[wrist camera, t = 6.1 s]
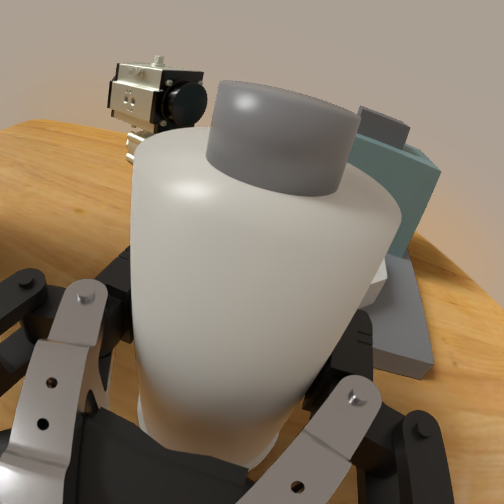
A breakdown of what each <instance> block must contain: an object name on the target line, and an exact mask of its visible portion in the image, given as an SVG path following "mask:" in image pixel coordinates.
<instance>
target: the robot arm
mask: <svg viewBox="0 0 504 504" xmlns="http://www.w3.org/2000/svg"><path fill="white" fill-rule="evenodd" d="M18 321H19V322H20V325H21V328H20V329H18V330H17V331H16V332H14V333H13V334H12V335H10V336H9V337H8V338H7V339H5V340H4V341H3V342H2V343H0V397H1V396H2V395H3V394H4V393H5V392H7V391H8V390H9V389H10V388H11V387H12V386H13V385H14V384H16V383H17V382H18V381H19V380H20V379H21V378H23V377H24V376H25V375H26V376H25V379H24V383H23V386H22V390H21V393H20V397H19V401H18V405H17V409H16V413H15V418H14V422H13V427H12V428H10V429H7V430H3V431H0V504H326V503H327V502H328V501H329V499H330V498H331V496H332V495H333V494H334V492H335V491H336V489H337V488H338V486H339V485H340V483H341V482H342V480H343V479H344V477H345V476H346V474H347V473H348V471H349V469H350V467H351V465H352V464H353V465H355V466H356V469H357V486H358V504H454V497H453V491H452V485H451V479H450V473H449V468H448V463H447V458H446V453H445V448H444V443H443V439H442V434H441V430H440V427H439V424H438V422H437V421H436V420H435V418H434V417H433V416H432V415H430V414H429V413H427V412H425V411H421V410H415V411H412V412H410V413H408V414H407V415H406V416H404V415H403V414H401V413H399V412H397V411H395V410H394V409H392V408H390V407H389V406H387V405H386V404H384V403H383V402H382V397H381V393H380V391H379V389H378V388H377V386H376V385H375V384H374V383H373V347H372V345H373V337H372V336H373V326H372V322H371V320H370V318H369V315H368V313H367V312H366V311H363V310H360V309H358V308H357V310H356V312H355V314H354V316H353V317H352V319H351V321H350V323H349V324H348V326H347V328H346V329H345V331H344V333H343V335H342V336H341V338H340V340H339V341H338V343H337V345H336V346H335V348H334V350H333V351H332V353H331V355H330V356H329V358H328V359H327V361H326V363H325V364H324V366H323V367H322V369H321V370H320V372H319V374H318V375H317V377H316V378H315V380H314V381H313V383H312V384H311V386H310V387H309V389H308V390H307V392H306V393H305V397H304V402H303V407H302V409H303V410H307V411H311V415H310V420H309V422H308V423H307V424H306V425H305V427H304V428H303V429H302V430H301V431H300V433H299V434H298V435H297V436H296V437H295V439H294V440H293V441H292V442H291V443H290V445H289V446H288V447H287V448H286V449H285V450H284V451H283V453H282V454H281V455H280V456H279V457H278V458H277V459H276V460H275V462H274V463H273V464H272V465H271V466H270V467H269V468H268V469H267V470H266V471H265V472H264V473H263V475H262V476H261V477H260V478H259V479H258V480H257V481H256V482H254V481H253V480H251V479H249V478H248V477H246V476H247V473H248V470H249V468H246V467H242V466H239V465H236V464H233V463H230V462H227V461H224V460H221V459H218V458H215V457H212V456H208V455H200V454H193V453H187V452H180V451H175V450H170V449H167V448H165V447H163V446H162V445H161V444H159V443H158V442H157V441H155V440H154V439H153V438H151V437H150V436H149V435H148V434H146V433H145V432H144V431H143V430H141V429H140V428H139V427H138V426H136V425H135V424H134V423H132V422H130V421H128V420H126V419H124V418H122V417H120V416H118V415H116V414H114V413H112V412H111V411H110V408H109V394H110V386H111V378H112V371H113V364H114V357H115V346H116V345H117V343H118V342H119V341H120V340H122V341H124V342H126V343H129V344H131V343H132V341H133V340H134V333H133V317H132V298H131V260H130V246H128V247H127V248H126V249H125V251H123V252H122V253H121V254H120V255H119V257H117V258H116V259H115V260H113V261H112V262H111V263H110V264H109V265H108V266H107V267H106V268H105V269H104V270H103V271H102V272H101V273H100V274H99V275H98V276H97V277H96V278H95V279H81V280H78V281H75V282H73V283H72V284H70V285H69V286H68V287H67V288H63V287H58V286H52V285H47V283H46V279H45V276H44V274H43V273H42V272H41V271H40V270H37V269H32V268H28V269H23V270H20V271H18V272H16V273H15V274H13V275H11V276H10V277H8V278H7V279H5V280H4V281H2V282H1V283H0V335H1V334H3V333H4V332H5V331H7V330H8V329H9V328H11V327H12V326H13V325H14V324H16V323H17V322H18Z"/></svg>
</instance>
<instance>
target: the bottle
mask: <svg viewBox="0 0 504 504" xmlns="http://www.w3.org/2000/svg"><path fill="white" fill-rule="evenodd" d="M360 121H361V117H360V116H358V115H357V114H355V113H353V112H351V111H349V110H347V109H344V108H342V107H339V106H337V105H334V104H332V103H329V102H326V101H323V100H320V99H317V98H314V97H311V96H308V95H304V94H301V93H296V92H293V91H289V90H285V89H281V88H277V87H272V86H267V85H261V84H255V83H249V82H241V81H228V80H227V81H220V82H219V86H218V91H217V96H216V101H215V106H214V111H213V116H212V122H211V127H191V128H181V129H174V130H169V131H165V132H161V133H158V134H155V135H153V136H151V137H149V138H147V139H145V140H144V141H143V142H141V143H140V144H139V145H138V147H137V148H136V150H135V152H134V161H133V176H132V196H131V233H130V260H131V298H132V317H133V333H134V346H135V357H136V367H137V377H138V385H139V393H140V394H139V398H138V404H137V415H138V421H139V426H140V429H141V430H143V431H144V432H145V433H146V434H148V435H149V436H150V437H151V438H153V439H154V440H155V441H157V442H158V443H159V444H161V445H162V446H163V447H165V448H167V449H170V450H175V451H180V452H187V453H193V454H200V455H208V456H212V457H215V458H218V459H221V460H224V461H227V462H230V463H233V464H236V465H239V466H242V467H246V468H249V470H248V472H249V471H251V470H252V469H254V468H255V467H256V466H257V465H259V464H260V463H261V462H262V461H263V460H264V458H265V457H266V456H267V455H268V453H269V452H270V451H271V449H272V448H273V446H274V445H275V443H276V441H277V438H278V435H279V432H280V429H281V428H282V426H283V425H284V424H285V422H286V421H287V420H288V418H289V417H290V415H291V414H292V412H293V411H294V410H295V408H296V407H297V405H298V404H299V402H300V401H301V399H302V398H303V396H304V395H305V393H306V392H307V390H308V389H309V387H310V386H311V384H312V383H313V381H314V380H315V378H316V377H317V375H318V374H319V372H320V370H321V369H322V367H323V366H324V364H325V363H326V361H327V359H328V358H329V356H330V355H331V353H332V351H333V350H334V348H335V346H336V345H337V343H338V341H339V340H340V338H341V336H342V335H343V333H344V331H345V329H346V328H347V326H348V324H349V323H350V321H351V319H352V317H353V316H354V314H355V312H356V310H357V308H358V307H359V305H360V303H361V301H362V299H363V298H364V296H365V294H366V292H367V290H368V288H369V286H370V284H371V283H372V281H373V279H374V277H375V275H376V273H377V271H378V269H379V267H380V265H381V263H382V261H383V259H384V257H385V255H386V253H387V251H388V249H389V247H390V245H391V243H392V241H393V239H394V237H395V234H396V232H397V230H398V228H399V226H400V224H401V218H402V215H401V211H400V208H399V206H398V204H397V202H396V201H395V199H394V198H393V197H392V195H391V194H390V193H389V192H388V191H387V190H386V189H385V188H384V187H383V186H382V185H380V184H379V183H378V182H377V181H376V180H374V179H373V178H372V177H370V176H369V175H367V174H366V173H364V172H363V171H361V170H360V169H358V168H356V167H355V166H353V165H351V164H349V163H347V161H348V158H349V155H350V152H351V149H352V146H353V143H354V140H355V137H356V134H357V130H358V127H359V124H360Z"/></svg>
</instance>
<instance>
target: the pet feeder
mask: <svg viewBox="0 0 504 504" xmlns="http://www.w3.org/2000/svg"><path fill="white" fill-rule="evenodd" d="M357 115H358V116H360V117H361V121H360V124H359V127H358V130H357V134H356V137H355V140H354V143H353V146H352V149H351V152H350V155H349V158H348V161H347V163H349V164H351V165H353V166H355V167H356V168H358V169H360V170H361V171H363V172H364V173H366V174H367V175H369V176H370V177H372V178H373V179H374V180H376V181H377V182H378V183H379V184H380V185H382V186H383V187H384V188H385V189H386V190H387V191H388V192H389V193H390V194H391V195H392V197H393V198H394V199H395V201H396V202H397V204H398V206H399V208H400V211H401V215H402V218H401V224H400V226H399V228H398V230H397V232H396V234H395V237H394V239H393V241H392V243H391V245H390V247H389V249H388V251H387V253H386V255H385V257H384V259H383V261H382V263H381V265H380V267H379V269H378V271H377V273H376V275H375V277H374V279H373V281H372V283H371V284H370V286H369V288H368V290H367V292H366V294H365V296H364V298H363V299H362V301H361V303H360V305H359V307H358V309H360V310H363V311H366V312H367V313H368V315H369V318H370V320H371V322H372V326H373V336H372V337H373V345H372V347H373V368H377V369H381V370H384V371H388V372H392V373H396V374H400V375H404V376H408V377H412V378H416V379H420V380H421V379H422V378H423V377H424V375H425V374H426V373H427V372H428V371H429V370H430V369H431V368H432V366H433V365H434V360H433V354H432V349H431V343H430V338H429V333H428V328H427V323H426V319H425V314H424V310H423V305H422V301H421V297H420V293H419V289H418V285H417V281H416V277H415V273H414V270H413V266H412V263H411V259H410V256H409V252H408V249H407V246H408V244H409V242H410V240H411V238H412V236H413V234H414V232H415V230H416V228H417V226H418V224H419V221H420V219H421V217H422V215H423V213H424V211H425V208H426V206H427V204H428V202H429V200H430V197H431V195H432V193H433V190H434V188H435V186H436V183H437V181H438V178H439V176H440V173H441V171H440V170H439V169H438V167H437V166H435V164H434V163H433V162H432V161H431V160H430V159H429V158H428V157H427V156H426V155H425V154H424V153H423V152H422V151H421V150H419V149H417V148H415V147H412V146H410V145H408V144H405V142H406V139H407V136H408V133H409V130H410V127H409V126H407V125H406V124H404V123H403V122H402V121H399V120H397V119H394V118H392V117H389V116H386V115H384V114H382V113H379V112H376V111H373V110H371V109H368V108H365V107H362V106H360V107H359V111H358V114H357Z"/></svg>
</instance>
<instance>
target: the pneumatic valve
mask: <svg viewBox="0 0 504 504" xmlns="http://www.w3.org/2000/svg"><path fill="white" fill-rule="evenodd" d="M163 60H164V57H163V56H155V59H154V63H118V64H117V68H116V76H115V77H114V78H113V79H112V81H110V86H109V95H108V105H107V108H110V109H112V112H111V117H114V118H117V119H119V120H122V121H124V122H127V123H129V124H131V125H132V127H133V128H136V127H139V128H141V129H143V131H140V132H137V133H135V132H133V131H131V132H129V133H128V135H127V138H128V140H127V142H126V146H127V148H128V154H127V155H126V160H127V161H129V162H131V163H132V164H133V161H134V152H135V150H136V148H137V147H138V145H139V144H140V143H141V142H143V141H144V140H145V139H147V138H149V137H151V136H153V135H155V134H158V133H161V132H165V131H169V130H174V129H181V128H191V127H194V124H195V123H196V122H198V121H199V120H200V118H201V117H202V115H203V114H204V112H205V109H206V106H207V93H206V90H205V89H204V87H203V86H202V85H203V82H202V79H203V74H204V72H200V71H195V70H190V69H184V68H178V67H171V66H166V65H165V64H163Z"/></svg>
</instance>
